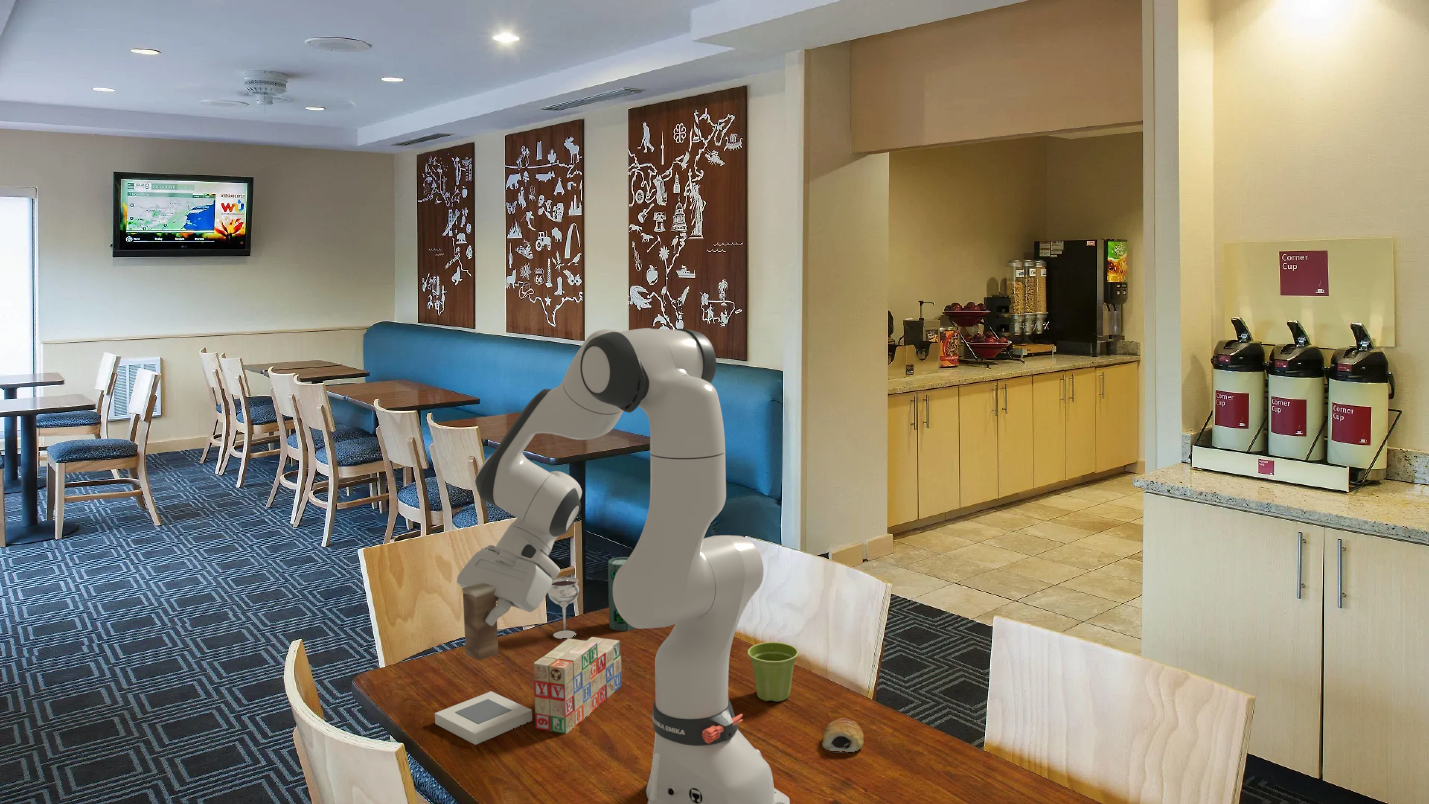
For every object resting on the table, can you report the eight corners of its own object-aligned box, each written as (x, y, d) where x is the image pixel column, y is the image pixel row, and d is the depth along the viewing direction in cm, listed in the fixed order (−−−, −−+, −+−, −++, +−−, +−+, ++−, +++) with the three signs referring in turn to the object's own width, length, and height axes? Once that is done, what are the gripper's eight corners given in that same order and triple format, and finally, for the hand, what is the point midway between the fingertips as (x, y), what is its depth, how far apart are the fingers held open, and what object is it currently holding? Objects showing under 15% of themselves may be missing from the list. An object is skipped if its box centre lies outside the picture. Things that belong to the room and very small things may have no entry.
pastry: (827, 727, 176) (827, 706, 175) (866, 731, 174) (866, 710, 174) (821, 753, 166) (821, 731, 166) (862, 757, 165) (863, 735, 165)
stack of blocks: (593, 682, 195) (591, 621, 194) (622, 686, 193) (621, 625, 191) (534, 729, 175) (532, 662, 174) (566, 735, 173) (564, 667, 172)
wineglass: (543, 637, 218) (541, 584, 216) (559, 627, 224) (558, 575, 223) (570, 642, 215) (568, 588, 214) (586, 631, 222) (584, 578, 220)
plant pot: (769, 711, 182) (769, 665, 180) (737, 693, 189) (737, 649, 188) (808, 697, 187) (808, 653, 186) (776, 681, 195) (776, 638, 193)
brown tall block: (498, 653, 176) (495, 587, 175) (479, 660, 173) (476, 592, 172) (484, 648, 179) (481, 582, 178) (465, 654, 176) (462, 588, 175)
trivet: (532, 720, 179) (531, 709, 178) (475, 744, 170) (474, 733, 169) (491, 701, 186) (491, 690, 186) (435, 723, 178) (434, 712, 177)
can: (620, 632, 221) (618, 566, 219) (604, 625, 225) (603, 560, 223) (642, 626, 224) (641, 561, 222) (627, 619, 229) (625, 555, 227)
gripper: (475, 534, 186) (432, 598, 180) (545, 553, 172) (501, 624, 166) (496, 552, 190) (454, 616, 184) (566, 572, 176) (524, 642, 170)
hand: (477, 620), depth 175 cm, fingers closed on brown tall block, 4 cm apart
